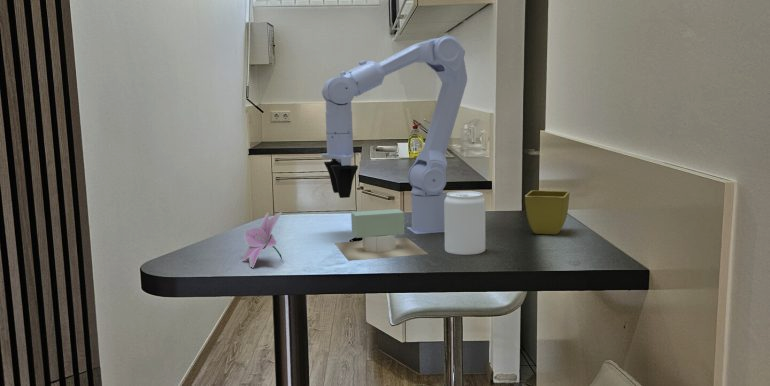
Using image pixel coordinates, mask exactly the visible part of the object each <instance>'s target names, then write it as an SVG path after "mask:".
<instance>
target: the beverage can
mask: <svg viewBox="0 0 770 386" xmlns="http://www.w3.org/2000/svg"><path fill="white" fill-rule="evenodd" d="M446 193H447V197H446V198H445V200H444V221H445V232H444V251H445V252H446V253H449V254H452V255H463V256H464V255H465V256H467V255H468V256H469V255H470V256H471V255H478V254H481V253H484V252H485V251H486V199H485V198H484V196H483V195H484V193H483V192H479V191H471V190H460V191H459V190H458V191H450V192H446Z"/></svg>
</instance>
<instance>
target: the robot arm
mask: <svg viewBox="0 0 770 386" xmlns="http://www.w3.org/2000/svg"><path fill="white" fill-rule="evenodd" d="M465 50H466V49H464V47H463V46H462V44H461V43H460V41H459V40H458V39H457V38H456V37H455V36H452V35H443V36H441V37H437V38H436V37H435V38H434V37H433V38H430V39H427V40H426V41H421V42H418V43H414V44H412V45H410V46H408V47H405V48H404V49H402V50H400V51H398V52H396V53H395V54H393V55H391V56H389V57H386V58H385V59H383V60H381V61H380V62H377V61H376V62H375V61H373V60H368V61H367V60H366V59H364V60H361V61H360V62H358V66H355V67H353V68H352V69H349V70H347V71H345V70H342V71H340V72H339V74H340V76H337V77H332V78H331V77H330V78H329V79H327V81H326V82H325V83H324V84H323V88H322V90H321V95H322V98H323V99H324V100H325V133H326V134H325V136H326V153H321V158H326V159H330V161H324V162H323V165H325V168H326V170H327V173H328V176H329V178H330V183H331V189H332V191H333V193H334V194H335V193H337V194H338V197H339V198H340V199H345V198H350V196H351V194H352V193H351V192H352V187H353V181H354V178H355V175H356V173H357V171H358V168H359V165H357V164H356V165H352V159H353V158H354V157H355V153H354V139H353V138H354V135H353V134H354V133H353V111H352V101H353V99H354V98H355V97H358V96H361V95H363V94H365V93H367V92H369V91H370V90H372V89H375V88H377V87H379V86H381V85H382V84H383V82H384V79H385V77H386V76H388V75H391V74H392V73H394V72H396V71H399V70H401V69H403V68H405V67H406V68H407V67H408V66H410V65H412V64H415V63H418V64H424V63H425V64H426V65H427V66H428V67H430V68H431V69H432V70H433V71H434V72H435V73H436V75H437V76H438V78H439V80H440V82H441V85H440V90H439V93H438V96H437V99H436V104H435V107H434V110H433V114H432V116H431V121H430V124H429V127H428V131H427V134H426V138H425V140H424V144H423V148H422V150H421V151H420V152H419V153H418V155H417V156H416V158H415V161H414V163H413V165H411V166H410V167H409V169H408V172H407V180H408V184H410V186H411V187H412V188H411V191H410V192H411V195H410V197H411V200H410V201H411V202H410V203H411V206H410V207H411V226H407V227H406V228H407V229H408V230H409V231H411V232H412V233H414V234H415V235H419V234H421V235H422V234H431V233H432V234H434V233H445V221H444V200H445V198H446V197H447V193H448V192H444V191H443V190H444V188H445V187H446V185H447V181H448V179H447V167H448V162H447V158H446V153H447V150H448V146H449V143H450V140H451V136H452V133H453V131H454V130H453V129H454V126H455V123H456V120H457V117H458V113H459V110H460V107H461V103H462V100H463V96H464V93H465V90H466V89H465V88H466V86H467V83H468V74H467V69H466V63H465V62H466V61H465V55H466V54H465V53H466V51H465Z"/></svg>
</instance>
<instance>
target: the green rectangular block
mask: <svg viewBox="0 0 770 386" xmlns="http://www.w3.org/2000/svg"><path fill="white" fill-rule="evenodd" d="M350 213H351V214H350V215H351V216H350V217H351V235H352V236H354V238H355V239H359V238H360V239H361V238H362V239H363V237H376V236H390V235H396V236H401V235H405V212H404V211H402V210H401V209H399V208H393V209H392V208H391V209H379V210H378V209H377V210H365V211H363V210H361V211H351V212H350Z"/></svg>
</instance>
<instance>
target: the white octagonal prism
mask: <svg viewBox="0 0 770 386" xmlns="http://www.w3.org/2000/svg"><path fill="white" fill-rule="evenodd" d="M396 238H397V235H390V236H376V237H363V238H362V241H363V249H364V250H365V251H370V252H386V251H391V250H394V249H396Z"/></svg>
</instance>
